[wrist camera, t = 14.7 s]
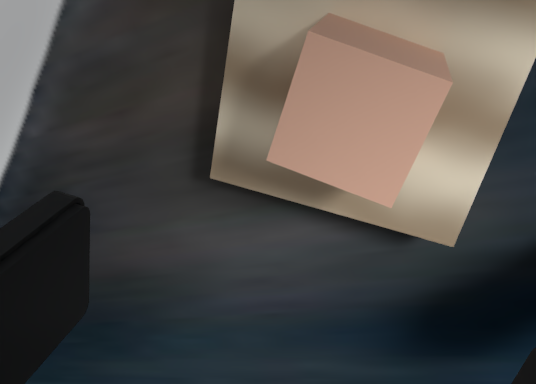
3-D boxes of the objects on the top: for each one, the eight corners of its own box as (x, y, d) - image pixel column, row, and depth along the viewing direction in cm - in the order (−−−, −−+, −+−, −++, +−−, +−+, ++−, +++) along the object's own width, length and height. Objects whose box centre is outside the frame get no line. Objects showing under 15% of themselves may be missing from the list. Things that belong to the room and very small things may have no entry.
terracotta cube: (329, 12, 25) (308, 30, 20) (443, 53, 25) (453, 82, 20) (292, 120, 28) (266, 160, 23) (394, 158, 28) (391, 208, 22)
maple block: (268, -93, 28) (248, -98, 24) (552, -35, 25) (574, -32, 22) (230, 154, 35) (209, 177, 31) (448, 214, 33) (453, 247, 29)
